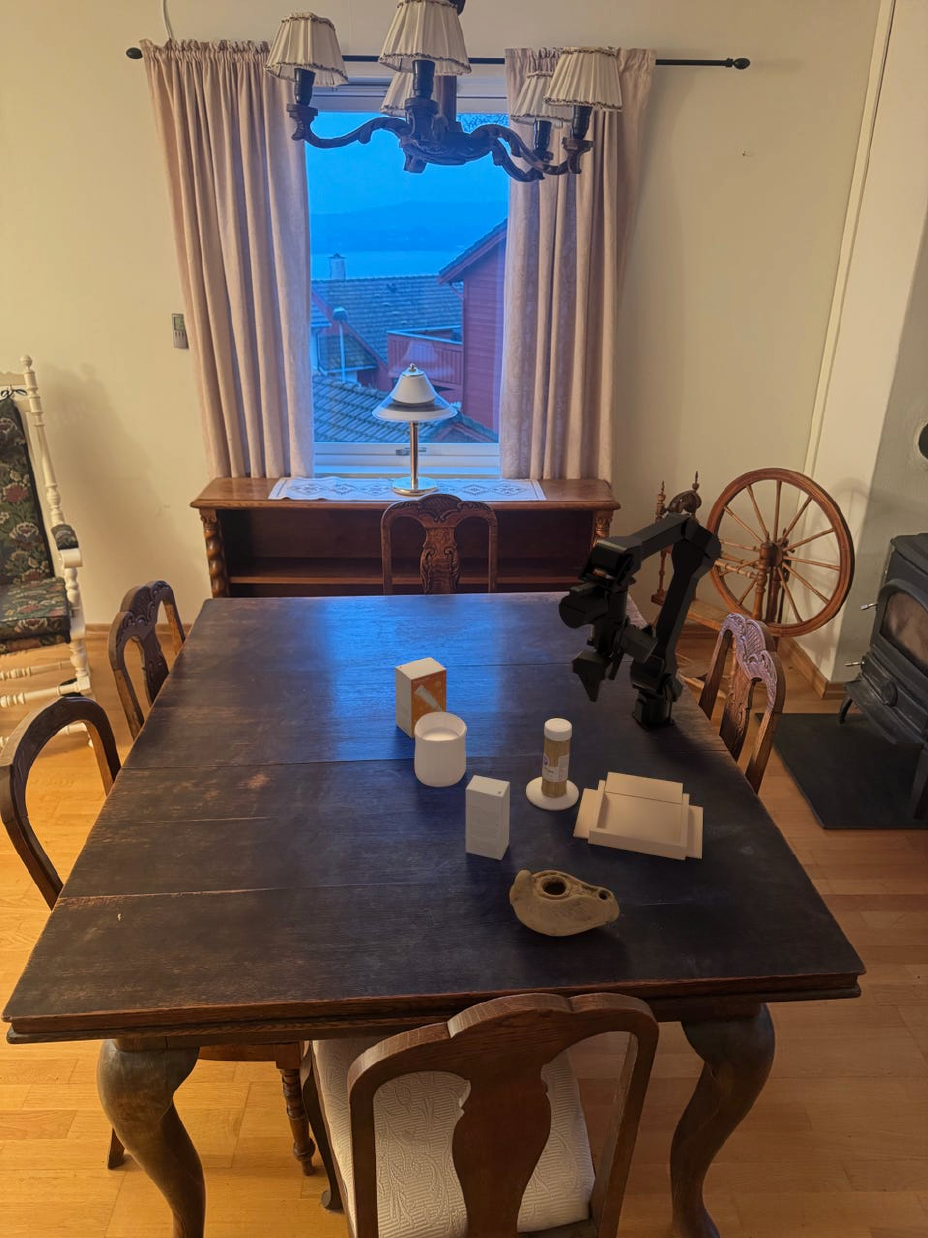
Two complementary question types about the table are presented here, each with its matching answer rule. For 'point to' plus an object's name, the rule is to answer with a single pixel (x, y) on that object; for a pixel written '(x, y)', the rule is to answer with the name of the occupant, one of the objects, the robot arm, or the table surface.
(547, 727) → the sprinkles bottle
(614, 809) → the carton
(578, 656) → the robot arm
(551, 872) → the oil lamp
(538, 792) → the coaster
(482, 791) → the skincare box
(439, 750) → the cup
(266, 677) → the table surface
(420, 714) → the small box
